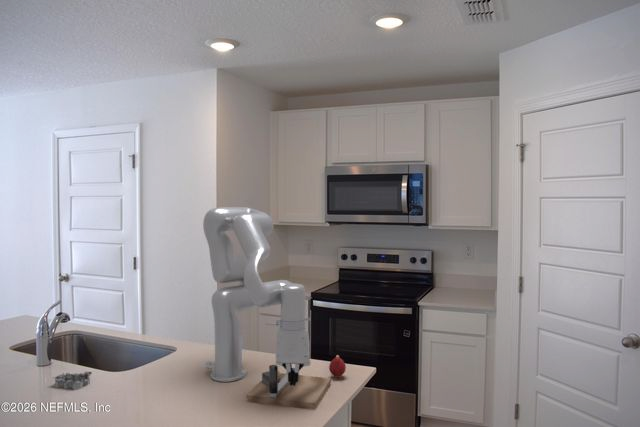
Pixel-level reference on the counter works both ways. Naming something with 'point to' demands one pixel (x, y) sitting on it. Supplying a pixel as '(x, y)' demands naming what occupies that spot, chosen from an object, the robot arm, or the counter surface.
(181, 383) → the counter surface
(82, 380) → the egg carton
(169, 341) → the counter surface
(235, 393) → the counter surface
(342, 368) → the onion
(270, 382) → the lever
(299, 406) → the board
